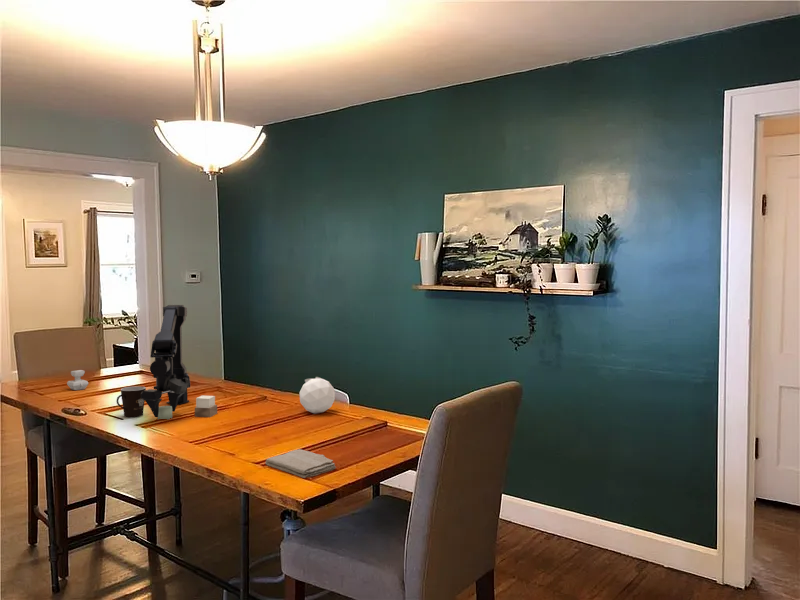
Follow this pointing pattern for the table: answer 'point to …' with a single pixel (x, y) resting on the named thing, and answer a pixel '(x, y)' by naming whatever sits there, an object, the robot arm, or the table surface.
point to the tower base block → (206, 411)
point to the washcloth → (301, 463)
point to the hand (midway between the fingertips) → (165, 414)
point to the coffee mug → (132, 401)
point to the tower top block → (205, 401)
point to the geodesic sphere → (317, 395)
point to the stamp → (77, 380)
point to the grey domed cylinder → (165, 412)
